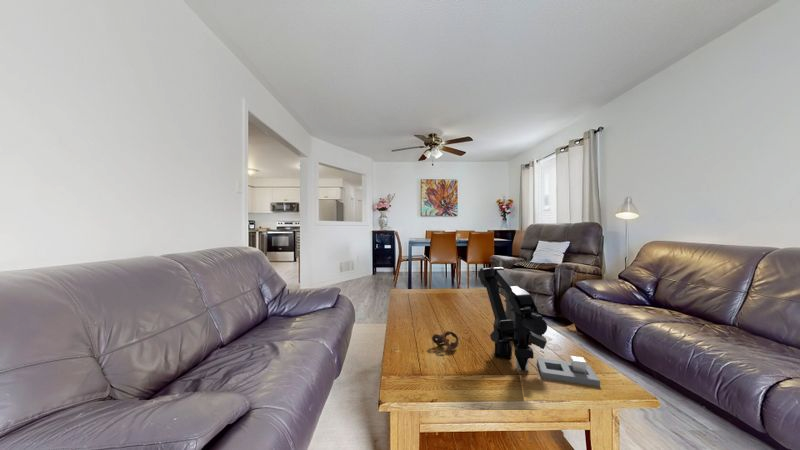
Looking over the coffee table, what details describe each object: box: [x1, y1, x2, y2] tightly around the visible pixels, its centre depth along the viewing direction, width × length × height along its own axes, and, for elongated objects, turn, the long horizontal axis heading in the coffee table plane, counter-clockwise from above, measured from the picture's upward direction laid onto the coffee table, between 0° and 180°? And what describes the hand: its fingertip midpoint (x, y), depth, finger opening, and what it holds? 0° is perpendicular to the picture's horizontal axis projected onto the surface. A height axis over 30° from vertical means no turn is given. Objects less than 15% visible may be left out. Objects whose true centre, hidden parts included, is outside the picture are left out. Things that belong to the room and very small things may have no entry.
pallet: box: [536, 357, 601, 387], centre depth 105 cm, size 18×12×3 cm, turn 71°
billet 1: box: [515, 357, 529, 373], centre depth 110 cm, size 4×4×6 cm
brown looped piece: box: [431, 330, 459, 353], centre depth 130 cm, size 12×10×8 cm
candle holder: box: [503, 289, 514, 323], centre depth 140 cm, size 6×6×25 cm
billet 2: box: [570, 355, 587, 374], centre depth 104 cm, size 4×4×6 cm
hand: (522, 365), depth 110 cm, fingers open, 7 cm apart
